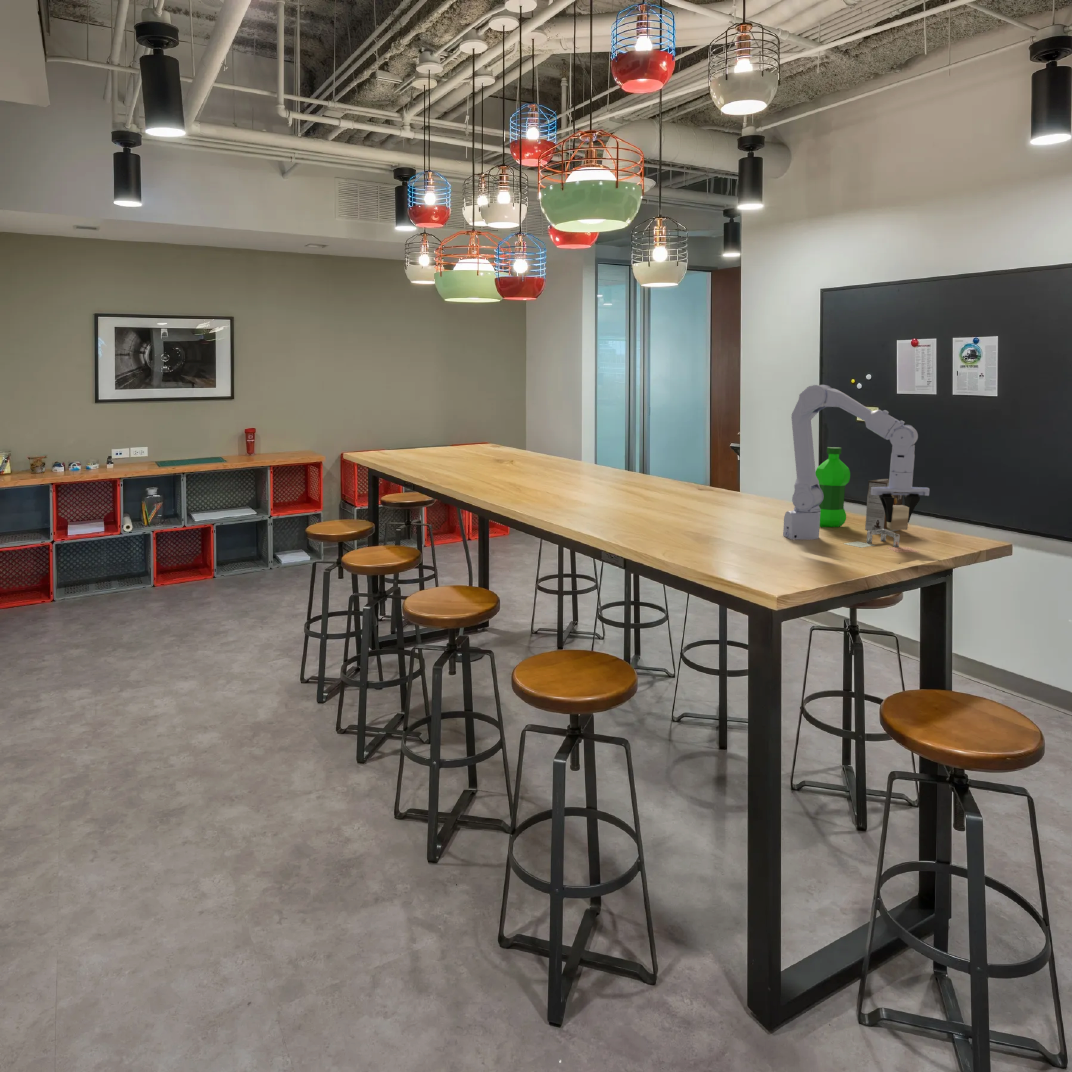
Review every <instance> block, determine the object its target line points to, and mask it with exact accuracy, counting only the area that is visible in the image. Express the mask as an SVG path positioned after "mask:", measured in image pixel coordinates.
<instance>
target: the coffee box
mask: <svg viewBox="0 0 1072 1072" xmlns="http://www.w3.org/2000/svg"><path fill="white" fill-rule="evenodd" d="M871 487H889V478H881V479H880V478H879V479H873V480H868V483H867V495H866V496H867V499H866V510H865V511H866V513H865V524H864V525H865V528H864V530H865V531H871V530H879V529H887V530H889V531H891V532H896V531H899V530H892V529H890V528H888V527H887V521H886V516H885V511H884V507H883V505H882V502H881V500H880V498H879V495H871ZM894 493H904V492H894ZM891 496H892V497H893V498H894V503H893V505H903V500H904V499H903V498H904V495H891Z"/></svg>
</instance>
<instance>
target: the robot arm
mask: <svg viewBox="0 0 1072 1072" xmlns="http://www.w3.org/2000/svg"><path fill="white" fill-rule="evenodd" d="M798 395H799V396H798V400H797V402H796V404H795V406H794V408H793V411H792V413H791V416H790V417H791V427H792V439H793V450H794V461H795V471H796V473H795V474H796V479H795V482H794V485H793V487H794V491H793V494H792V497H791V501H792V505H793V509H792V510H787V511H786V512H785V513H784V516H783V517H784V518H783V530H782V531H783V532H782V533H783V534H782V535H783V537H785V538H786V539H790V540H818V539H820V528H821V527H820V511H821V509H820V507H819V505H820V504H821V503H822V501H823V497H824V495H823V492H822V490H821V488H820V486H819V481H818V479H817V477H816V464H815V453H814V452H815V451H814V441H813V440H814V439H813V430H812V428H813V427H812V421H813V419H814V417H816V416H817V414H818V413H819V412H820V411H822V410H824V409H825V408H832V407H833V408H840V409H842V410H843V411H846V412H847V413H848V414H851V415H853V416H855V417H856V418H858V419H861V420H862V421H864V424H865V428H867V429H868V430H870V431H871V432H873V433H874V434H876V435H878V436H879V437H881V438H883V439H884V440H887V441H888V440H889V442H890V444H891V446H892V447H891V453H890V465H889V478H888V479H889V487H871V495H879V498H880V500H881V502H882V505H883V507H884V511H885V516H886V521H887V522H891V520H892V508H893V503H894V498H893V497H892V496H891V495H903V498H904V499H903V500H904V501H903V502H904V506H907V507H909V516H908V524H909V522H910V519H911V517H912V514H913V512H914V510H915V508H916V506H917V505H918V503H919V502H920V501H921V497H920V496H925V497H926V496H927V497H929V496H930V488H929V487H921V486H919V487H918V486H913V481H914V479H913V478H914V468H915V457H916V455H915V452H916V451H915V449H916V448H915V447H916V445H915V444H916V443H917V441H918V439H919V434H918V430H917V429H915V427H913V425H911V424H905V423H906V422H905V421H903V420H902V419H901V420H899V419H897V418H895V417H893V416H891V415H890V414H889V413H890V412H889V411H888V410H886V409H884V410H881V409H876V410H872V409H870V408H868V407H866V406H865V405H864V404H863V403H862V404H861V403H860V402H859V401H857V400H856V399H854V398H852V397H850V395H848V394H846V393H844V392H842V391H840V389H836V388H834V387H833V388H832V387H831V386H830V385H828V384H819V385H818V384H811V385H809V386H807V387H806V388H805V389H804V390H803V391H802V392H801V393H799V394H798ZM894 492H903V493H894Z"/></svg>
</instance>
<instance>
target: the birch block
mask: <svg viewBox="0 0 1072 1072" xmlns="http://www.w3.org/2000/svg"><path fill="white" fill-rule="evenodd" d="M908 516H909V507H907V506H905V504H902V505H893V508H892V520H891V522H887V527H888V528H890V529H892V530H898V531H901V530H902V531H903V530H904V531H908V528H909V527H908V526H909V523H908Z"/></svg>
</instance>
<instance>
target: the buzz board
mask: <svg viewBox="0 0 1072 1072" xmlns="http://www.w3.org/2000/svg"><path fill="white" fill-rule="evenodd" d="M843 544H844V545H847V546H853V547H856V548H857V547H858V548H866V547H867V548H868V547H873V546H876V544H873V543H871V544H868V543H866V542H862V541H853V542H852V541H851V542H845V543H843ZM887 549H889V550H891V551H894V552H895V553H919V551H918V550H917V549H913V548H911V547H909V546H907V547H906V546H905V547H904V546H903V547H901V546H899V547H893V546H892V547H889V546H888V547H887Z"/></svg>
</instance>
